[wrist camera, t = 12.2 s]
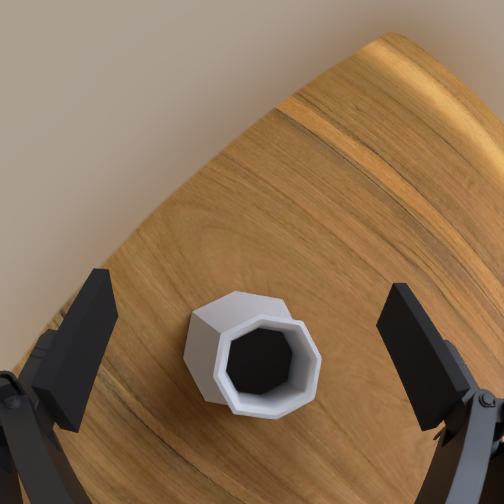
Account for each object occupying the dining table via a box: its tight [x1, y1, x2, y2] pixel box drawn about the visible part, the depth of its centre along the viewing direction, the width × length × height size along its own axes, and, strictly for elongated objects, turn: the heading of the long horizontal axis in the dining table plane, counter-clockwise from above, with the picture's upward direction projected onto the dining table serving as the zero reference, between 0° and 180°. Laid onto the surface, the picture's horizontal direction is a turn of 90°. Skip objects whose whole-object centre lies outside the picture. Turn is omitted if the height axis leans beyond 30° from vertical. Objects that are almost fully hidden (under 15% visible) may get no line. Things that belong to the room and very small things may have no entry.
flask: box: [183, 291, 322, 419], centre depth 13 cm, size 7×7×10 cm
